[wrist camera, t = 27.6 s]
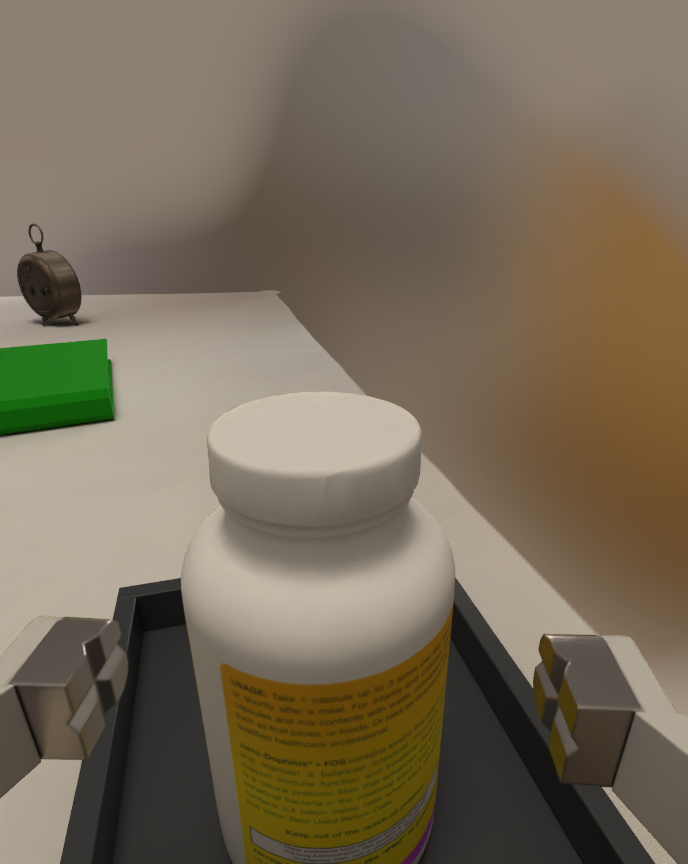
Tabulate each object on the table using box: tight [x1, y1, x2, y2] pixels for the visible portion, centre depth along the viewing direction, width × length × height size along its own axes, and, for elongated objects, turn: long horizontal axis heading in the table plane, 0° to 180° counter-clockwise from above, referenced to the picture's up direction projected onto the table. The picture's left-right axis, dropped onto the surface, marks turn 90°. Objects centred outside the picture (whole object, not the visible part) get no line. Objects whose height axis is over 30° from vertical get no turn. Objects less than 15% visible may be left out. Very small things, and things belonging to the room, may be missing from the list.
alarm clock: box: [17, 224, 81, 326], centre depth 86 cm, size 11×5×16 cm, turn 60°
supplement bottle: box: [181, 392, 455, 864], centre depth 14 cm, size 7×7×13 cm
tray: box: [60, 578, 655, 864], centre depth 16 cm, size 20×15×3 cm
